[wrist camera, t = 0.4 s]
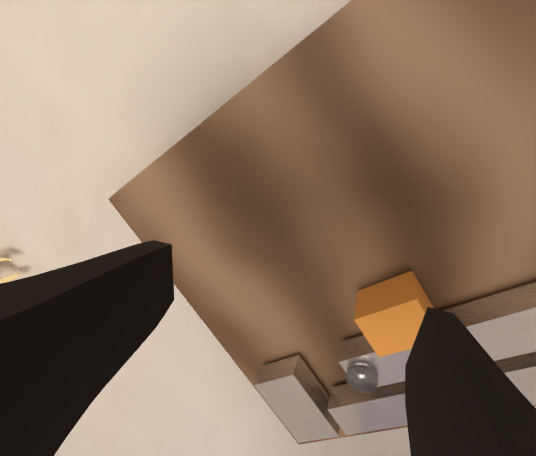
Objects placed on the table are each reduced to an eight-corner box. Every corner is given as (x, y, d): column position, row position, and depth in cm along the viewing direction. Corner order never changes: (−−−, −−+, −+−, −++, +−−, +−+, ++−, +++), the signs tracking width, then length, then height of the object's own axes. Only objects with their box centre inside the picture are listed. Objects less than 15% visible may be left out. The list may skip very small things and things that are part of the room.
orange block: (378, 325, 18) (378, 357, 16) (356, 291, 18) (354, 319, 16) (434, 307, 17) (441, 340, 15) (412, 270, 17) (416, 298, 14)
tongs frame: (303, 421, 23) (297, 452, 21) (261, 366, 22) (250, 393, 20) (842, 315, 12) (927, 359, 11) (808, 197, 11) (895, 223, 10)
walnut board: (300, 434, 26) (298, 444, 25) (117, 194, 21) (108, 199, 21) (902, 328, 13) (932, 342, 12) (743, -313, 9) (775, -347, 8)
